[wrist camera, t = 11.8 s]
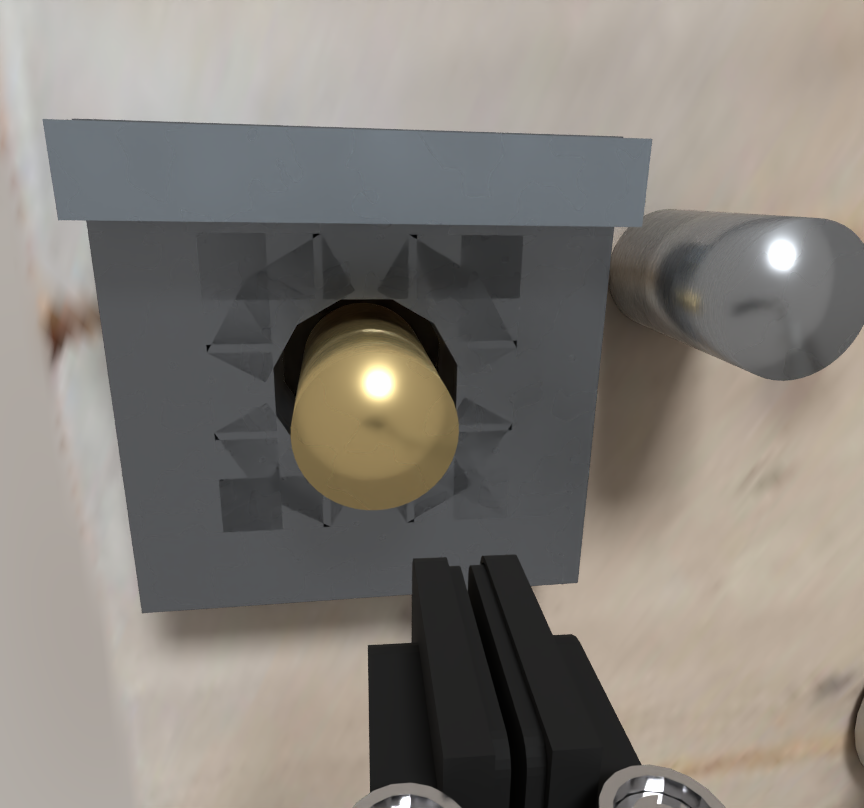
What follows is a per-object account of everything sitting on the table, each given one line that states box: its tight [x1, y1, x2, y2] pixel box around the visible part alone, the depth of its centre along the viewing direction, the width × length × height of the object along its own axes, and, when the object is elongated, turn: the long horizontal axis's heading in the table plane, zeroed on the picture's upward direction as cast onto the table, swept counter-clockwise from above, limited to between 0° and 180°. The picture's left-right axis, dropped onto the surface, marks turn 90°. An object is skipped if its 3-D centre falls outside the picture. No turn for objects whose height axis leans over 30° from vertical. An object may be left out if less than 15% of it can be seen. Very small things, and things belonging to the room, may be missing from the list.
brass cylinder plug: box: [291, 303, 459, 510], centre depth 22 cm, size 5×5×8 cm
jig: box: [43, 119, 652, 613], centre depth 22 cm, size 16×16×6 cm
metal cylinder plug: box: [609, 209, 864, 381], centre depth 22 cm, size 5×5×8 cm
